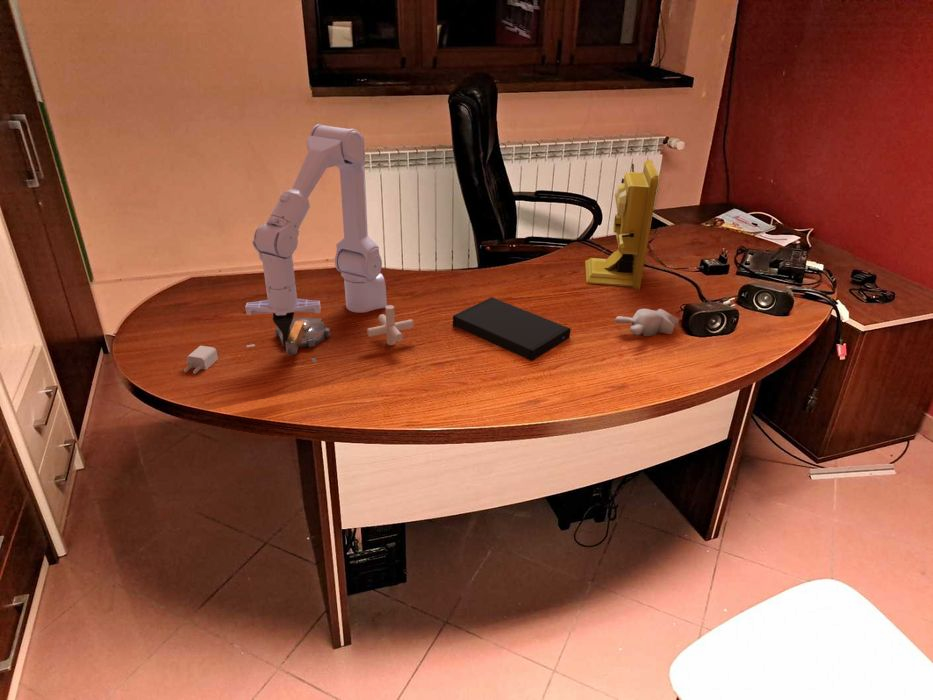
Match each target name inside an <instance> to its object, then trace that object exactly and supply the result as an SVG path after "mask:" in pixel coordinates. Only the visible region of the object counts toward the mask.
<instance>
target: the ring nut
mask: <svg viewBox="0 0 933 700" xmlns="http://www.w3.org/2000/svg"><path fill="white" fill-rule="evenodd" d="M274 332H275V333H274V334H275V337H279V341H280V342H281V346H282V347H285V349H286V355H288V356H293V355H296V354H297V352H298V349H299V348H314V347H315V346H316V345H318V344H320V343H322V342H323V341H324V340H325V339H326V338H330V336H331V327H326V324H325V322H323V318H320V317H316V318H314V317H293V320H292V322H291V325H290V334H289V336H288V338H287V341H286V342H285V344H286V346H284V344H283V334H282V332H281V331H280V329H279V328H278V326H276V327H275V330H274Z"/></svg>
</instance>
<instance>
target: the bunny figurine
mask: <svg viewBox="0 0 933 700" xmlns="http://www.w3.org/2000/svg"><path fill="white" fill-rule="evenodd" d="M679 320H680V319H678V318H677V317H676V316H674V315H672V314H670V313H669V312H667V311H666V310H664V309H663V308H658V309H657V310H654V309H653V310H652V309H649V308H640V309H637V310H636V312H635V314H633V316H632V317H629V316H621V315H620V316H619V315H618V316H616V317H615V319H614V320H613V321H614V322H615V323H617V324H631V326H630V332H631V334H634V335H636V336H639V335H641V334H642V335H643V336H644V337H648V336H649V337H651V336H655V335H656V334H658V333H663V334H668V335H671V334H673V333H674V329H675V327H676V326H678V323H679Z"/></svg>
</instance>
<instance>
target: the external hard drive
mask: <svg viewBox="0 0 933 700" xmlns="http://www.w3.org/2000/svg"><path fill="white" fill-rule="evenodd" d="M452 326H453V327H455V328H458V329H460V330H462V331H463V332H466V333H469V334H470V335H473V336H475V337H477V338H479V339H481V340H483V341H486V342H488V343H490V344H492V345H495V346H496V347H500V348H502V349H503V350H506V351H507V352H510V353H513V354H514V355H516V356H519V357H521V358H523V359H526V360H528V361H530V362H533V361H535V360H536V359H538V358H540V357H541V356H542V355H545V354H546V353H548V352H549V351H551V350H552V349H554V348H555V347H557V346H559V345H561V344H562V343H564V342H566V341H567V340H568V339H570V335H571V328H570V327H568V326H565V325H563V324H561V323H558V322H555V321H553V320H550V319H548V318H545V317H543V316H540V315H538V314H535V313H532V312H530V311H527V310H525V309H523V308H520V307H519V306H518V307H517V306H515V305H513V304H510V303H508V302H505V301H502V300H500V299H497V298H495V297H493V296H492V297H490V298H487V299H485V300H483V301H481V302H479V303H477V304H474V305H473V306H471V307H468V308H466V309H464V310H462V311H459V312H458V313H456V314H453V316H452Z"/></svg>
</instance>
